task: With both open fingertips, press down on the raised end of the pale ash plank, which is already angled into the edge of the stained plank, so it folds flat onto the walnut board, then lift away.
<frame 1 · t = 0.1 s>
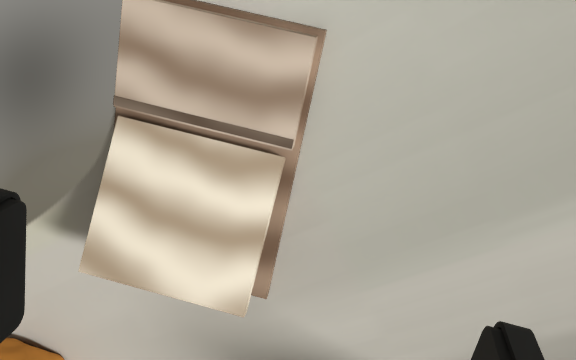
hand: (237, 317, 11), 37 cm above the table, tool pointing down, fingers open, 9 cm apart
ash plank: (182, 214, 47), point 5 cm above the table, hinge at 22.0°
floor board: (205, 152, 50), on the table
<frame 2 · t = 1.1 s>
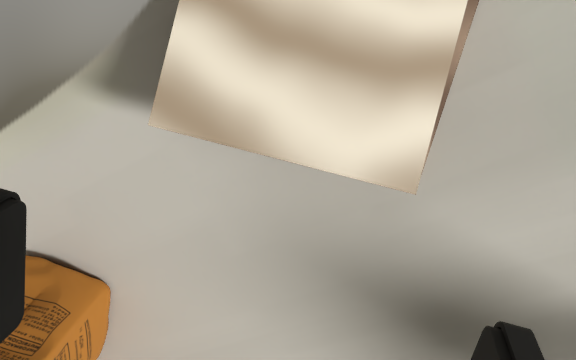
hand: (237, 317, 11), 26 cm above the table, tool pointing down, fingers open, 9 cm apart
ash plank: (312, 35, 30), point 5 cm above the table, hinge at 22.0°
coffee package: (60, 313, 47), on the table
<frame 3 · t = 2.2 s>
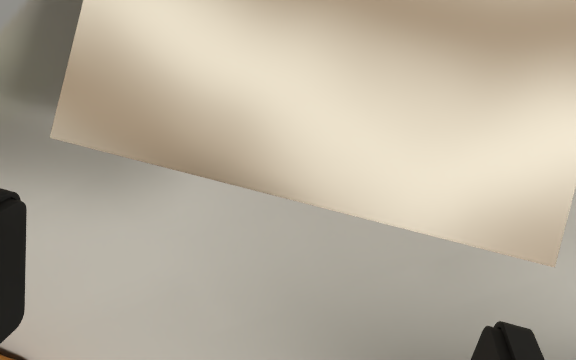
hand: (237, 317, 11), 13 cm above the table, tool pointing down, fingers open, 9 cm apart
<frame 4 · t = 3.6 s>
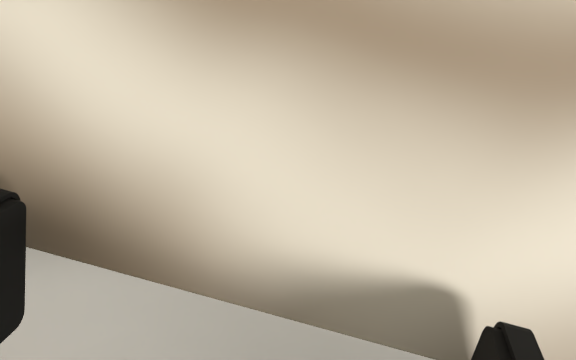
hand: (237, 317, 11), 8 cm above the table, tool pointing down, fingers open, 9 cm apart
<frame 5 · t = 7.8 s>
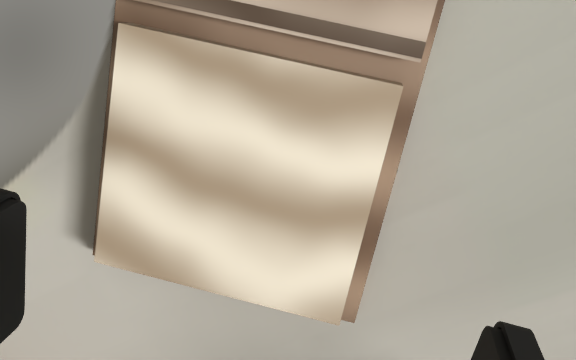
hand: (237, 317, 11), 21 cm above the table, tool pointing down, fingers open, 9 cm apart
ash plank: (237, 178, 30), point 2 cm above the table, hinge at 1.1°
floor board: (261, 81, 30), on the table
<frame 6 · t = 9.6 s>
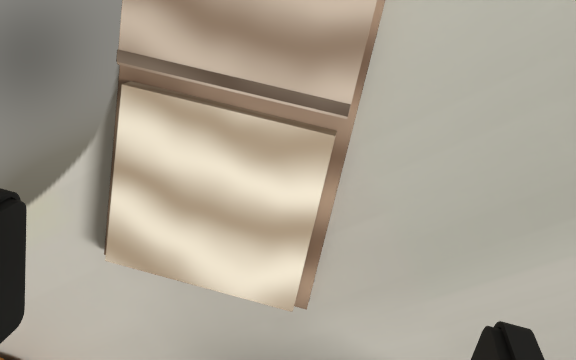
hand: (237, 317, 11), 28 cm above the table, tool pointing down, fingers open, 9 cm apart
ash plank: (214, 199, 39), point 2 cm above the table, hinge at 1.1°
floor board: (232, 124, 39), on the table
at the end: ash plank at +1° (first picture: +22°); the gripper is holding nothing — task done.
